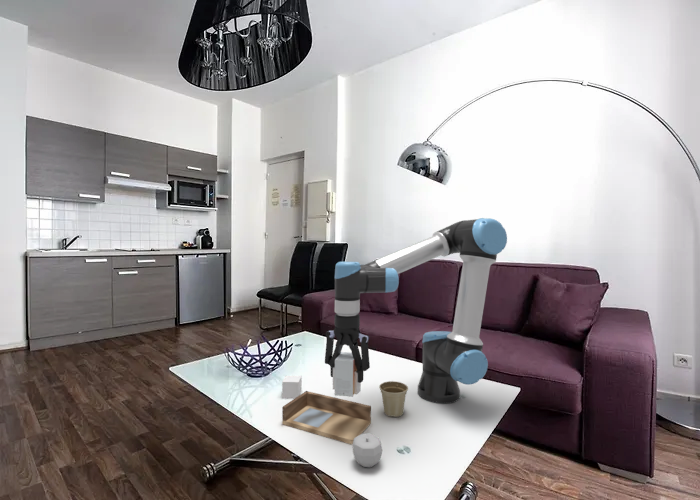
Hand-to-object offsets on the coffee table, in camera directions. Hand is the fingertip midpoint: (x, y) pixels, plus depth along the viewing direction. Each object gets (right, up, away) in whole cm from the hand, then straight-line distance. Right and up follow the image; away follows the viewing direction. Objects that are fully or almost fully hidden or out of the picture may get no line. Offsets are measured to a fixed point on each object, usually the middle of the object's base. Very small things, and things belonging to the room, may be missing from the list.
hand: (346, 390), depth 104 cm
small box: (0, 0, 0) cm, 0 cm away
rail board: (-6, -12, +3) cm, 14 cm away
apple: (+5, -12, -16) cm, 21 cm away
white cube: (-20, -12, +24) cm, 34 cm away
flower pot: (+15, -12, +10) cm, 22 cm away
